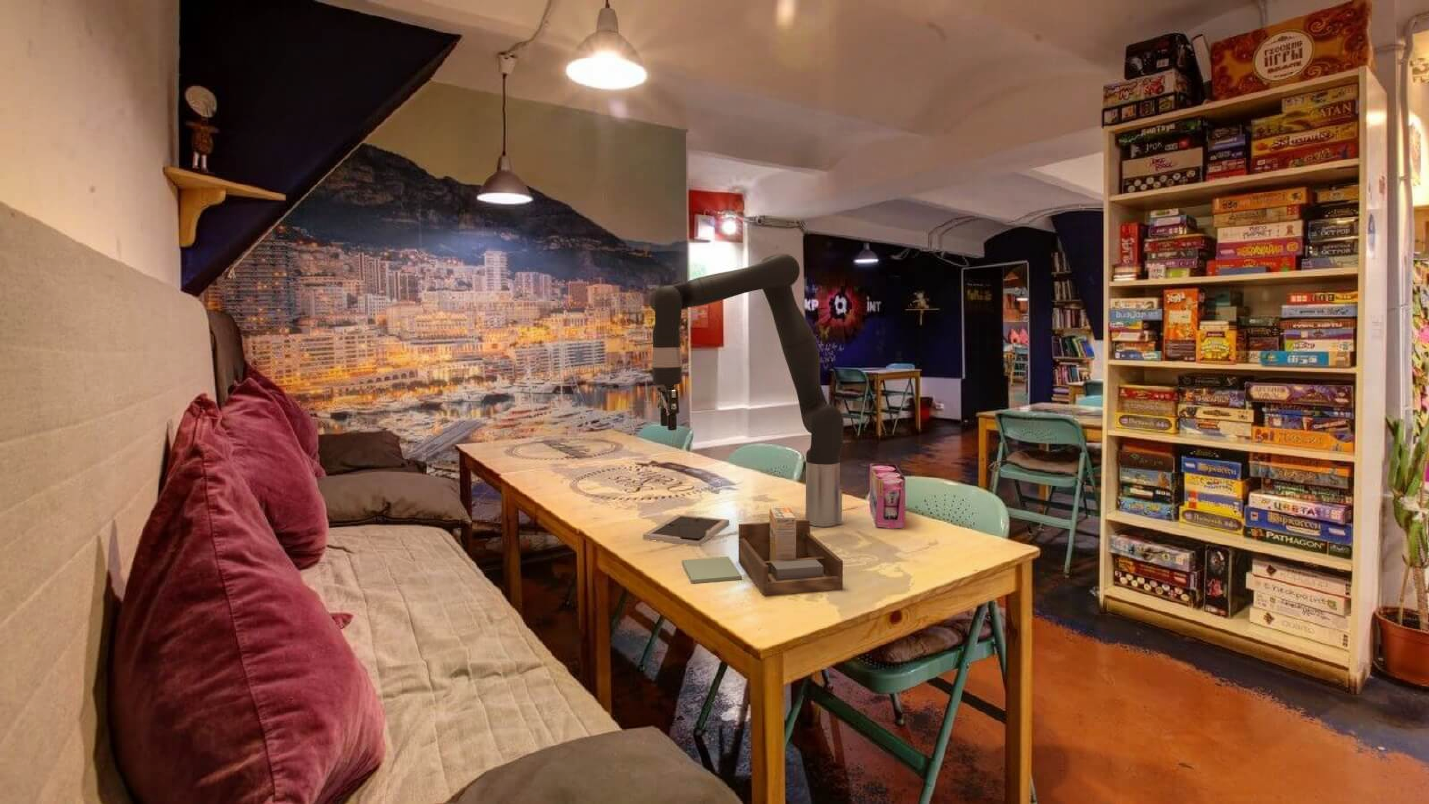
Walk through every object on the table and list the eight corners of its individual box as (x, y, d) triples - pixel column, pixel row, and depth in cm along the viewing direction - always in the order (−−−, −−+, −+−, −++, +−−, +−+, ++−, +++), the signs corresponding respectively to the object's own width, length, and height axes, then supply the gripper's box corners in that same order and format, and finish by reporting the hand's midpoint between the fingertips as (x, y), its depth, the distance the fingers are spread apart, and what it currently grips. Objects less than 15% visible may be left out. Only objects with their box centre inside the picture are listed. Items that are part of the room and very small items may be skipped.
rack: (808, 556, 163) (808, 519, 162) (842, 589, 143) (843, 546, 142) (738, 562, 160) (738, 524, 159) (763, 595, 139) (763, 552, 138)
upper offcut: (816, 570, 148) (816, 559, 148) (823, 578, 144) (823, 566, 143) (771, 573, 146) (771, 562, 146) (776, 581, 142) (776, 569, 142)
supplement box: (768, 563, 159) (768, 507, 158) (789, 562, 159) (789, 506, 158) (774, 575, 151) (774, 517, 149) (796, 574, 151) (796, 516, 150)
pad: (728, 559, 161) (728, 556, 161) (741, 579, 149) (741, 575, 148) (681, 563, 159) (681, 560, 159) (691, 583, 146) (691, 579, 146)
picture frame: (698, 549, 171) (729, 527, 190) (698, 538, 171) (729, 517, 190) (643, 542, 178) (678, 521, 197) (642, 531, 177) (678, 511, 196)
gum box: (906, 531, 184) (907, 481, 182) (876, 530, 185) (877, 480, 183) (895, 508, 207) (896, 463, 206) (868, 507, 208) (869, 463, 207)
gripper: (688, 366, 170) (689, 431, 172) (674, 363, 184) (676, 423, 185) (658, 367, 168) (659, 432, 170) (647, 364, 182) (648, 425, 183)
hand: (668, 428), depth 178 cm, fingers open, 8 cm apart
